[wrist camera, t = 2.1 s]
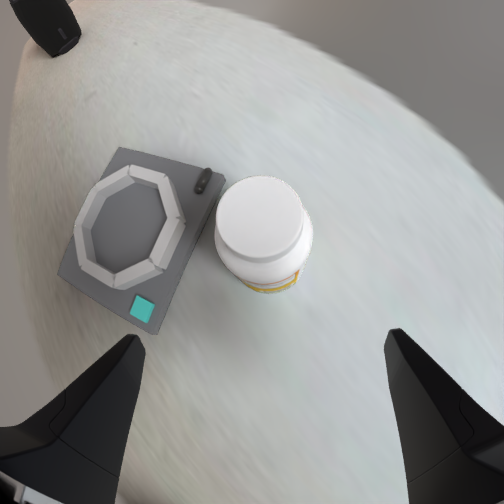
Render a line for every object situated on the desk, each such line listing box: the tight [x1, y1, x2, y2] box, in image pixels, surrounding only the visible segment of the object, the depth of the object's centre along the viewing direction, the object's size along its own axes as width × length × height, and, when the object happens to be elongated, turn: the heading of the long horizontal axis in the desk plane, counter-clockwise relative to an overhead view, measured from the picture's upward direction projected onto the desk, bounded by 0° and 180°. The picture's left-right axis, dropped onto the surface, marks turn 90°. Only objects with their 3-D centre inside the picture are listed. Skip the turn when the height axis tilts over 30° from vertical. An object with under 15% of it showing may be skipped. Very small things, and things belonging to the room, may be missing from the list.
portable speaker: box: [9, 0, 81, 57], centre depth 27 cm, size 9×9×20 cm
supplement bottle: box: [214, 175, 313, 294], centre depth 17 cm, size 5×5×10 cm
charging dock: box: [57, 147, 226, 335], centre depth 23 cm, size 14×12×2 cm
